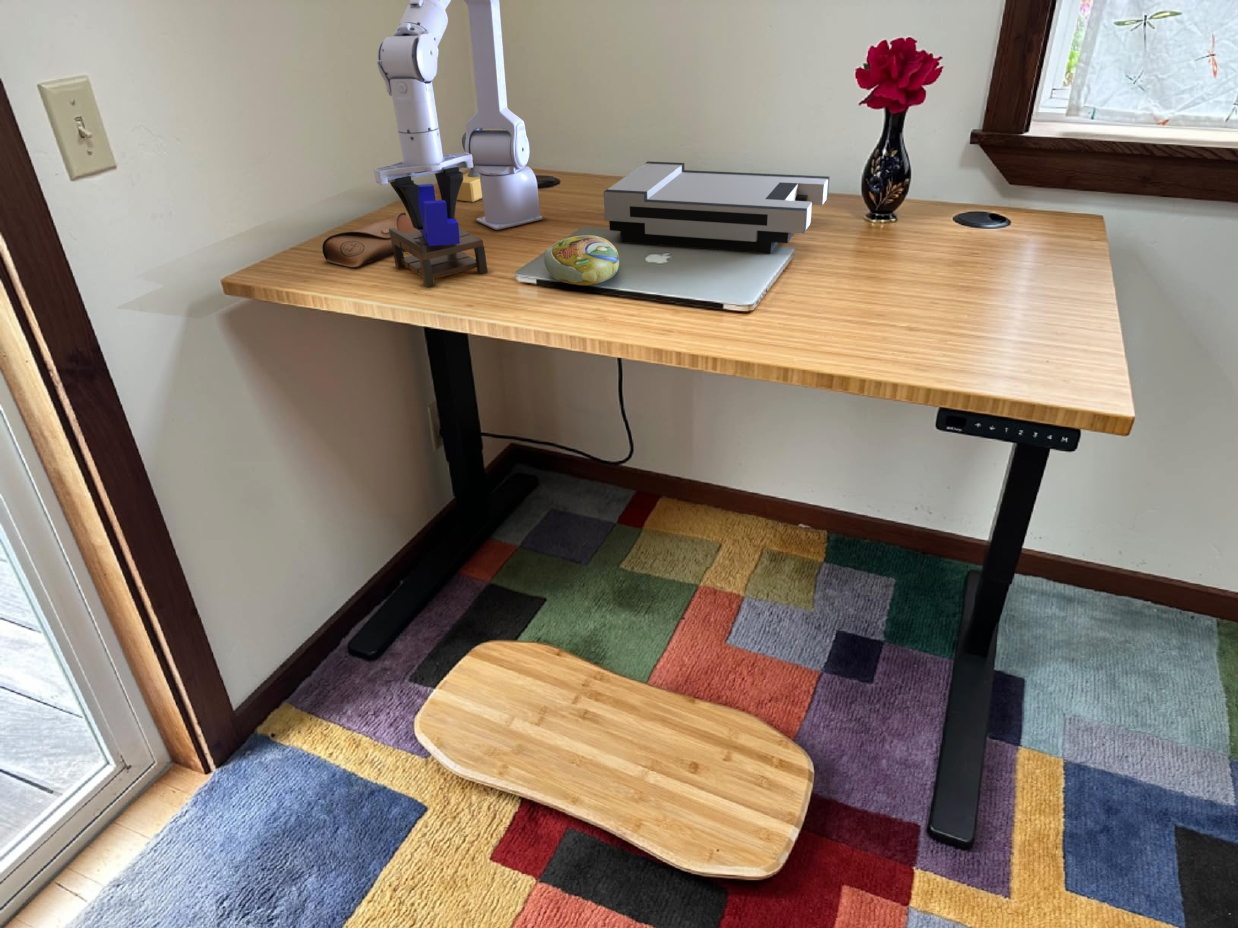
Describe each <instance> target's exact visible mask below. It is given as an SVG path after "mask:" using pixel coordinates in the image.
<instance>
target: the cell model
mask: <svg viewBox="0 0 1238 928" xmlns="http://www.w3.org/2000/svg"><path fill="white" fill-rule="evenodd" d="M543 260H544V261H543V262H544V267H545V270H546V271H547V273H548V274H549V275H550V276H551V277H552V278H554V279H555V280H557V281H559V282H561V283H566V284H569V285H575V286H594V285H598V284H601V283H604V282H607V281H608V280H610V279H612V278H613V277H614V276H615V275H616V274H617V272H618V270H619V266H620V255H619V252H618V250H617V247H616V246H615V245H614V244H613V243H612V242H611V241H610V240H608V239H607V238H604V237H601V236H597V235H591V234H589V235H576V236H571V237H565V238H563V239H560V240H558V241H556V242H555V243H553V244H551V245H550V247H548V249H547V250H546V252H545V254H544V259H543Z"/></svg>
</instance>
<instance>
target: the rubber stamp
mask: <svg viewBox="0 0 1238 928" xmlns="http://www.w3.org/2000/svg"><path fill="white" fill-rule="evenodd" d="M465 140H466V131H465V132H464V133H463V134H462V137H461V145H462V148H463V151H464V152H465ZM481 199H482V191H481V184H480V176H479V173H475V168H473V167H472V168H470V170H469V172H467V173H463V182H462V184H461V187H460V189H459V193H458V197H457V201H464V202H473V203H474V202H476V201H479V200H481Z"/></svg>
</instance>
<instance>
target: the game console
mask: <svg viewBox="0 0 1238 928" xmlns="http://www.w3.org/2000/svg"><path fill="white" fill-rule="evenodd" d="M830 178H831V177H830V176H826V175H825V176H824V175H804V174H803V175H802V174H783V173H781V174H779V173H760V172H759V173H758V172H735V171H715V170H714V171H712V170H711V171H710V170H689V169H688V170H687V169H685V162H671V161H670V162H669V161H668V162H667V161H649V160H647V161H646V162H644V163H643V164H641V165H640V166H638V167H637V168H636V169H634V170H633V171H631V172H629V174H627V175H625V176H624V177H623V178H621V179H620V180H619V181H617V182H615V183H614V184H613V185H611V186H610V187H608V188H606V189H605V190H604V191H603V192H602V193H603V209H604V210H603V211H604V221H608V226H609V231H610V232H620V243H627V244H638V245H650V246H651V245H652V246H667V247H680V248H693V249H705V250H706V249H707V250H719V251H731V252H732V251H733V252H747V253H758V254H759V253H760V254H772V252H774V250H775V249H776V247H777V246H778V244H779V243H782V244H788V243H789V242H790V240H791V239H792V238H793V236H794V235H795V234H802V235H804V234H805V233H806V231H807V229H808V228H809V227H810V225H811V221H812V209H813V206H824V204H825V202H826V201H827V199H828V198H829V189H830ZM812 205H813V206H812Z"/></svg>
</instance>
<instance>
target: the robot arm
mask: <svg viewBox="0 0 1238 928" xmlns="http://www.w3.org/2000/svg"><path fill="white" fill-rule="evenodd" d="M451 1H452V0H409V2H408V5H407V7H406V8H405V11H404V12H403V15H402V17H401V19H400V20H399V23H398V25H397V27H396V29H395V31H394V33H393V35H391V36H390V35H389V36H385V38H384V40H382V41H381V42H380V43H379V45H378V49H377V61H376V64H377V69H378V71H379V73H380V76H381V78H382V79H383V81H384V83H385V88H386V92H387V94H388V96H390V97H392V103H393V110H394V115H395V121H396V126H397V127H396V128H397V133H398V139H399V144H400V150H401V155H402V161H400V162H396V163H393V164H389V165H386V166H382V167H377V168H374V169H373V173H374V178H375V183H376V184H378V185H381V186H384V185H388V184H390V186H391V188H392V189H393V190H394V191H395V193H396V195H397V196H398V198H399V199H400V201H401V202H402V204H403V206H404V208H405V210H406V212H407V214H408V217H409V218H410V219H411V222H412V225H413V227H414V228H416V229H418V230H421V229H423V227H422V226H423V223H422V218H421V213H420V207H419V186H418V185H419V184H417V183H415V181H414V180H413V179H414V178H418V177H419V178H420V177H425V176H430V175H434V177H435V179H436V182H437V187H438V190H439V194H440V198H441V199H440V200H445V201H446V204H447V218H448V219H454V218H455V219H456V206H457V201H458V200H457V197H458V193H459V189H460V187H461V184H462V182H463V175H464V173H463V172H462V171H460V170H461V169H471V168H472V167H473V168H475V173H479V176H480V184H481V191H482V198H481V199H482V207H483V214H484V216H480V217H477V218H476V219H475V221H476V222H478V223H480V224H481V225H484V226H486V227H489V228H490V229H493V230H496V231H500V230H503V229H508V228H511V227H516V226H520V225H525V224H529V223H533V222H537V221H542V220H543V219H544V218H543V216H541V211H540V210H541V209H540V199H539V197H540V196H539V188H538V181H537V177H536V174H535V172H534V171H533V170H532V168H531V167H529V166H528V165H527V164H528V162H529V159H530V142H529V138H528V136H527V131H526V124H525V121H524V120H523V119H522V118H520V117H519V116H518V115H517V114H515V113H514V112H513V111H511V110H510V109H509V108H508V99H507V97H508V96H507V87H506V85H507V84H506V72H505V71H506V70H505V60H504V58H505V57H504V47H503V46H504V45H503V33H502V21H501V7H500V0H463V1H464V3H465V4H466V5H467V8H468V20H469V31H470V42H471V53H472V64H473V75H474V85H475V96H476V97H475V98H476V105H477V106H476V107H477V111H476V112H475V114H474V115H473V116H472V117H471V118H469V120H468V121H467V122H466V124H465V132H466V140H465V151H464V152H458V153H449V154H443V153H444V152H443V147H442V140H441V134H440V127H439V119H438V113H437V107H436V101H435V93H434V87H433V80H434V78H435V77H436V76H437V74H438V73H437V72H438V58H439V50H440V49H439V48H438V47H439V44H440V42H441V40H442V38H443V36H444V33H445V31H446V29H447V27H448V24H449V18H448V14H447V11H446V9H447V8H448V6H449V5H450V3H451ZM491 129H492V130H491Z"/></svg>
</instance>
